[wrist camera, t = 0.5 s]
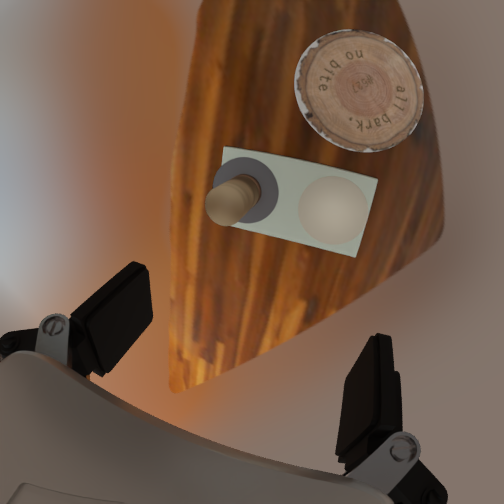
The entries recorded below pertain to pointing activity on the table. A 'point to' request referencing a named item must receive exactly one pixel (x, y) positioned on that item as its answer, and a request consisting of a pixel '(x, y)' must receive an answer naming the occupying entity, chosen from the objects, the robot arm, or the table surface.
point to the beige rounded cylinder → (232, 199)
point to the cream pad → (333, 210)
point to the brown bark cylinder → (359, 90)
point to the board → (286, 193)
